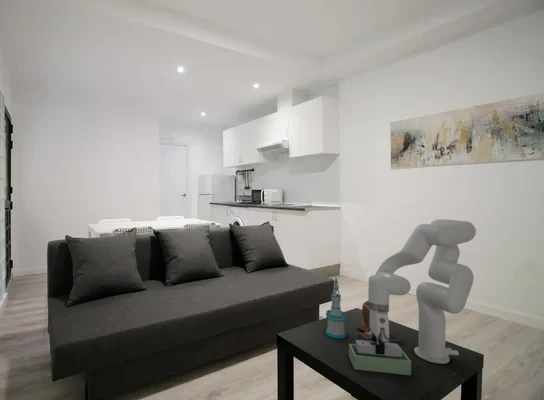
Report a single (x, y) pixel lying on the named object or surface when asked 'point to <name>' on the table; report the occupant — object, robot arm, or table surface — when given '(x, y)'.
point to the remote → (370, 348)
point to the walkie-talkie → (368, 337)
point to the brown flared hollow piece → (365, 318)
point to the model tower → (335, 315)
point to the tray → (379, 362)
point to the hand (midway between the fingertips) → (377, 350)
